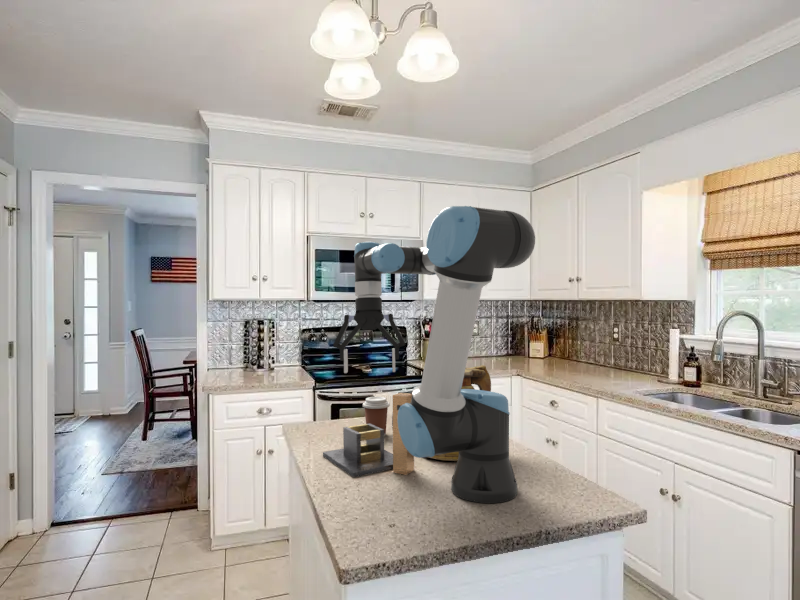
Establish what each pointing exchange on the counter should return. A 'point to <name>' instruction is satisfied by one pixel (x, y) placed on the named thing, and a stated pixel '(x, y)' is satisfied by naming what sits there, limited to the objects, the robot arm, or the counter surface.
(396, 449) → the tapered wooden post
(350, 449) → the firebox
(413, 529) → the counter surface
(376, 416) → the coffee cup
